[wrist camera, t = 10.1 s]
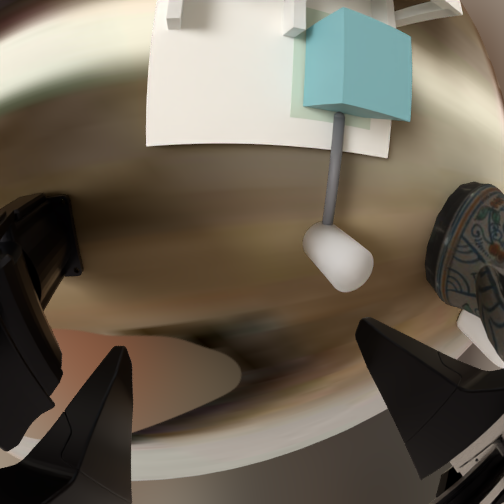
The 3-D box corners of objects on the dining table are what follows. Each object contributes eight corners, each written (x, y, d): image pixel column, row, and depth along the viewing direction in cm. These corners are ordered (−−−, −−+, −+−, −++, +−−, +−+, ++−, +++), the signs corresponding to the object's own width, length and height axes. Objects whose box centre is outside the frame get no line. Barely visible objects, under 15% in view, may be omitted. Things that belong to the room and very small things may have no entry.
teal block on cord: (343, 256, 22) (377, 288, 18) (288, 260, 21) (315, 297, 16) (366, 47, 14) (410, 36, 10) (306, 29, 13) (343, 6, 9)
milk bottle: (452, 333, 39) (512, 399, 22) (459, 306, 35) (530, 378, 18) (475, 312, 39) (534, 370, 22) (482, 284, 35) (551, 346, 18)
